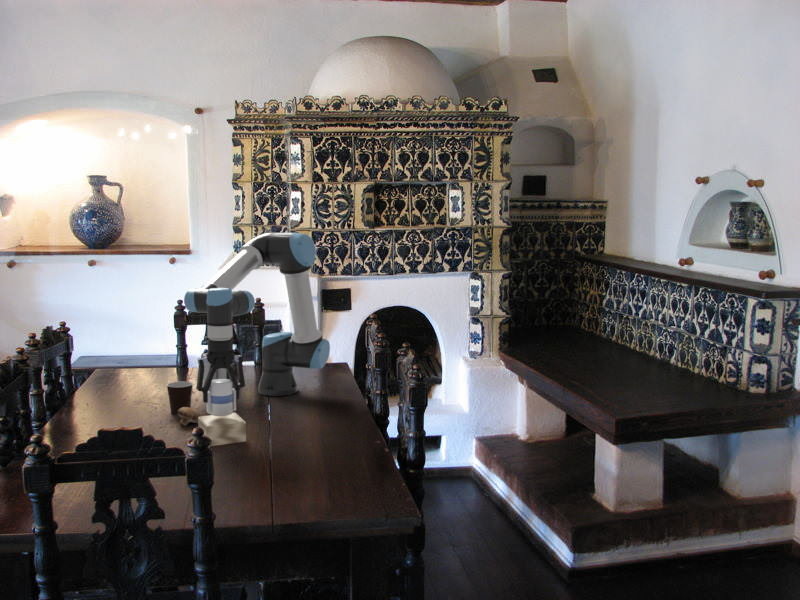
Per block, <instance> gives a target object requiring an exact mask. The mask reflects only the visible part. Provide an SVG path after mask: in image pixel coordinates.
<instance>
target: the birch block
mask: <svg viewBox="0 0 800 600" xmlns="http://www.w3.org/2000/svg"><path fill="white" fill-rule="evenodd" d="M198 427H200V428H202V429H203V430H204V435H205V436H207V437H209V438H210V439H211V440H212V444H211V446H210V447H215V446H222V445H229V444H237V443H244V442H247V424H246V421H245V420H244V419H243V418H242V417H241V416H240V415H239V414H238V413H237V412H233V413H232V414H230V415H226V416H213V415H210V414H209V415H202V416H201V415H200V417H198V423H197V428H198Z"/></svg>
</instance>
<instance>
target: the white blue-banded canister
mask: <svg viewBox="0 0 800 600" xmlns="http://www.w3.org/2000/svg"><path fill="white" fill-rule="evenodd" d="M233 388H234V386H233V381H232V380H231V379H230V378H229V379H228V378H226V379H215V380H212V382H211V384H210V387H209V390H208V391H209V392H210V393H211V413H210V414H209V415H213V416H226V415H230V414H232V413H234V411H233Z"/></svg>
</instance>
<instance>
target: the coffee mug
mask: <svg viewBox="0 0 800 600" xmlns="http://www.w3.org/2000/svg"><path fill="white" fill-rule="evenodd" d="M193 384H194V383H193V382H191V381H174V382H168V383H167V385H166V388H167V394H168V401H169V407H170V413H171V414H172V415H178V410H179V409H180V408H182V407H190V408H191V404H192V393H193ZM178 416H179V415H178Z"/></svg>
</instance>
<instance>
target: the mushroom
mask: <svg viewBox="0 0 800 600" xmlns="http://www.w3.org/2000/svg"><path fill="white" fill-rule="evenodd" d="M178 416H179V417H180V420H179V422H180V424H181V425H183V426H187V425H188V424H190V423H193V424H198V417H200V416H201V414H200V412H199V411H198V410H197V409H195V408H192V407H191V406H190V407H182V408H180V409H179V410H178Z"/></svg>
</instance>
